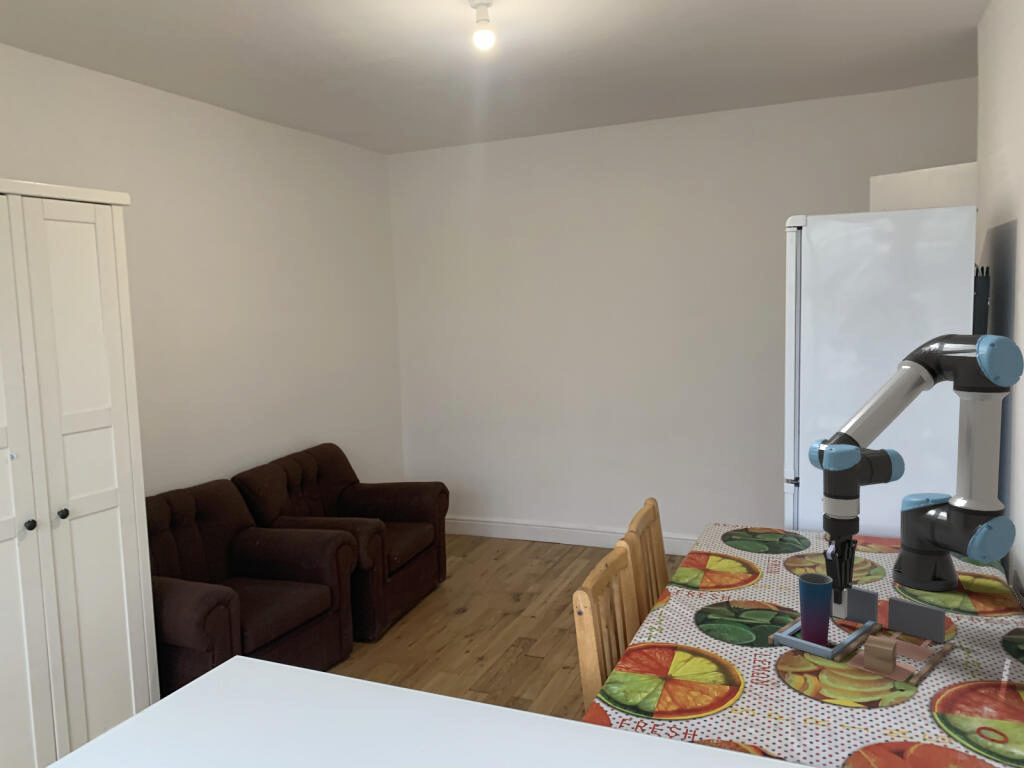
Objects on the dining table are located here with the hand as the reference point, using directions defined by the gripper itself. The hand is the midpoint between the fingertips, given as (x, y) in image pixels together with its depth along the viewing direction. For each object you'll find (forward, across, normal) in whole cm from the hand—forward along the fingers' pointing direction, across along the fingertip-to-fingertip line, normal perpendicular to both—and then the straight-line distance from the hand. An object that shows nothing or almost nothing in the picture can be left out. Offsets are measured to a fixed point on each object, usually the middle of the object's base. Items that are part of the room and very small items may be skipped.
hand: (839, 616), depth 173 cm
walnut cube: (+2, +15, +14) cm, 21 cm away
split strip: (+3, +6, +14) cm, 16 cm away
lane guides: (+3, +7, +7) cm, 10 cm away
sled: (+3, +6, 0) cm, 7 cm away
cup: (+3, +12, 0) cm, 13 cm away
